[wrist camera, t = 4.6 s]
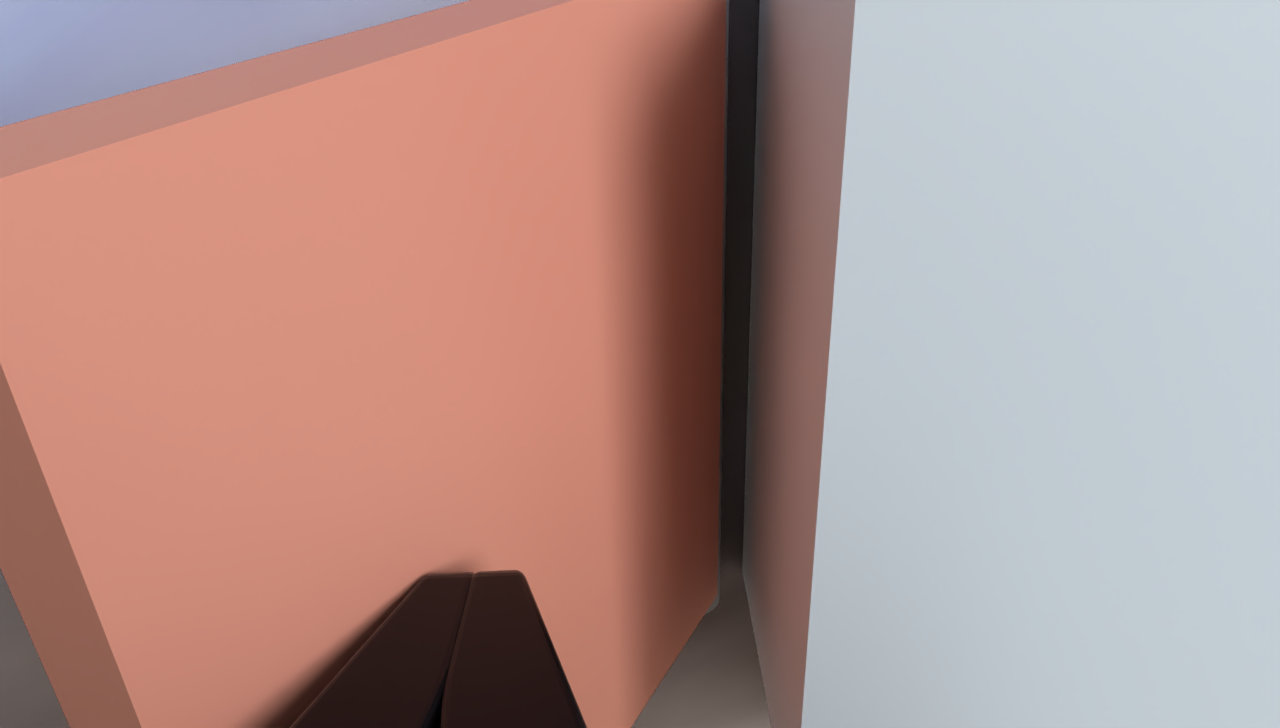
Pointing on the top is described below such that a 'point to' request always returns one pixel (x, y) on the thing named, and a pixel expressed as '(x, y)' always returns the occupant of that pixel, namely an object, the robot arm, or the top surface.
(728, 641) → the top surface
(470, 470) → the tailgate
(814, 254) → the white stepped block
